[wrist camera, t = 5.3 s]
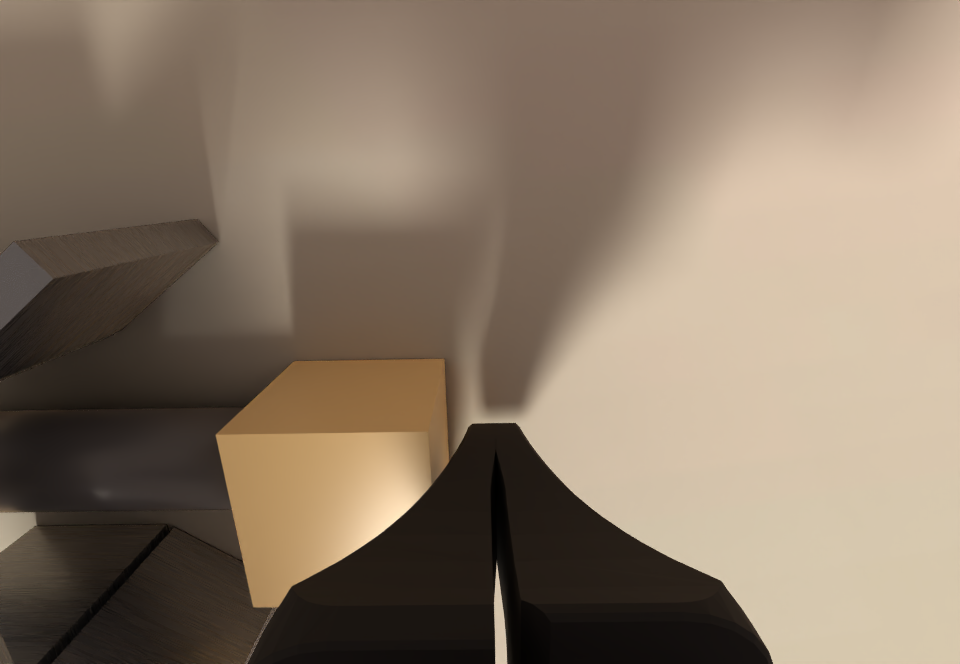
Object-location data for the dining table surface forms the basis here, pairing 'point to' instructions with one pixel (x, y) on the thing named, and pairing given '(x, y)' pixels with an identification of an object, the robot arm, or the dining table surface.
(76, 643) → the housing
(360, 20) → the dining table surface
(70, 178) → the dining table surface
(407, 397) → the plug
